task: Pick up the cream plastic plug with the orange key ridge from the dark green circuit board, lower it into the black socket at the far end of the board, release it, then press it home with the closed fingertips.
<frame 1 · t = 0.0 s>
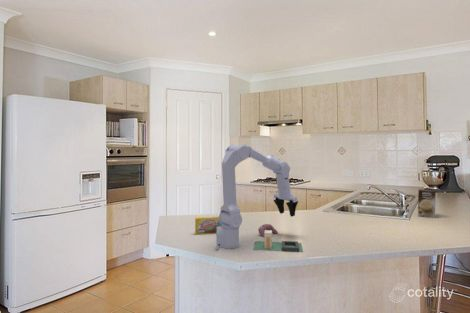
hand: (287, 214, 147), 11 cm above the worktop, tool pointing down, fingers open, 7 cm apart
plug: (268, 247, 129), point 1 cm above the worktop, touching circuit board
pink rounded piece: (267, 237, 148), on the worktop
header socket: (290, 250, 127), resting on circuit board
candy box: (211, 233, 154), on the worktop
circuit board: (277, 248, 130), on the worktop
coffee box: (426, 216, 190), on the worktop
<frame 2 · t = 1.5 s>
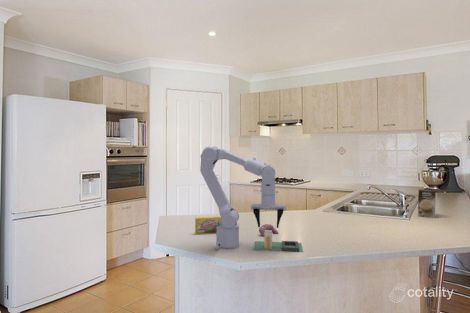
hand: (268, 227, 128), 9 cm above the worktop, tool pointing down, fingers open, 7 cm apart
nothing on the worktop moved.
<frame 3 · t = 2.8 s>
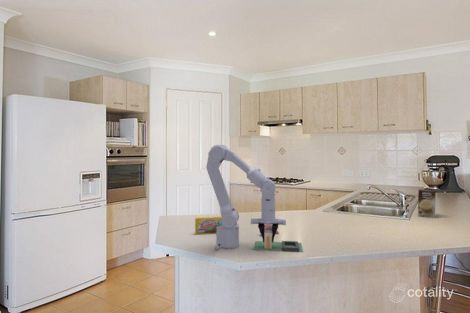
hand: (268, 241, 129), 3 cm above the worktop, tool pointing down, fingers closed on plug, 3 cm apart
plug: (268, 247, 129), point 1 cm above the worktop, touching circuit board, gripper
everything else where it was.
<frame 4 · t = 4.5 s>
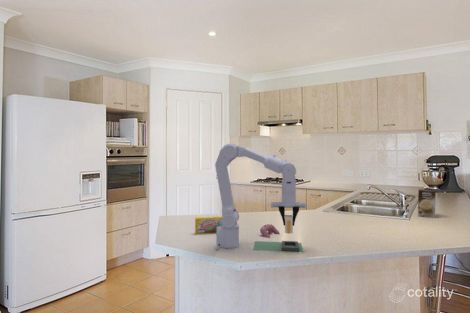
hand: (288, 225, 127), 11 cm above the worktop, tool pointing down, fingers closed on plug, 3 cm apart
plug: (288, 231, 127), point 8 cm above the worktop, touching gripper
when the fingers open (4 cm above the worktop, at t = 6.5 s): plug stays where it is, resting on circuit board.
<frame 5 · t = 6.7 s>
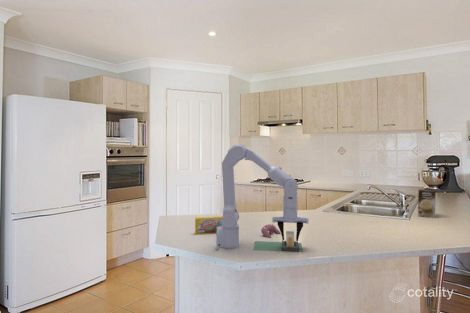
hand: (290, 240, 127), 4 cm above the worktop, tool pointing down, fingers open, 5 cm apart
plug: (290, 248, 127), point 1 cm above the worktop, touching circuit board
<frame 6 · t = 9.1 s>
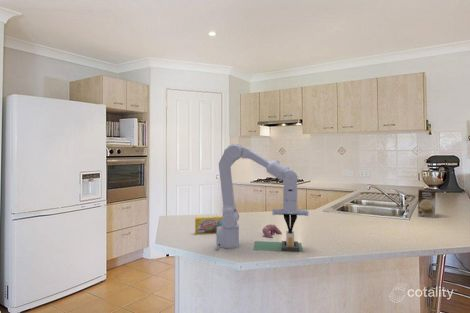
hand: (290, 232, 127), 7 cm above the worktop, tool pointing down, fingers closed, pressing on plug
plug: (290, 248, 127), point 1 cm above the worktop, touching circuit board, gripper
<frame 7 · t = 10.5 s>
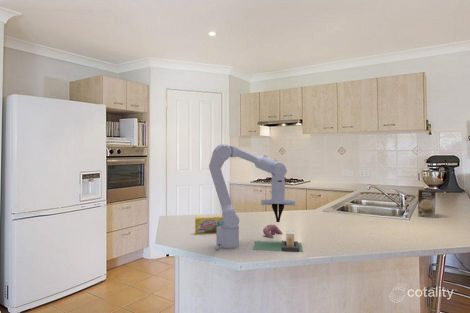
hand: (278, 221, 134), 10 cm above the worktop, tool pointing down, fingers closed
plug: (290, 248, 127), point 1 cm above the worktop, touching circuit board
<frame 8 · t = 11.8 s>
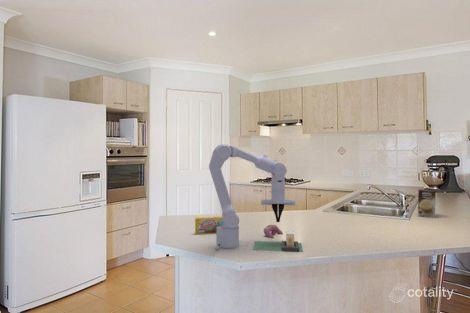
hand: (278, 221, 134), 10 cm above the worktop, tool pointing down, fingers closed
at the end: plug 0.4 cm off-centre on the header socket, point 1.0 cm above the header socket's base; plug tilted 0°; the gripper is holding nothing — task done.
